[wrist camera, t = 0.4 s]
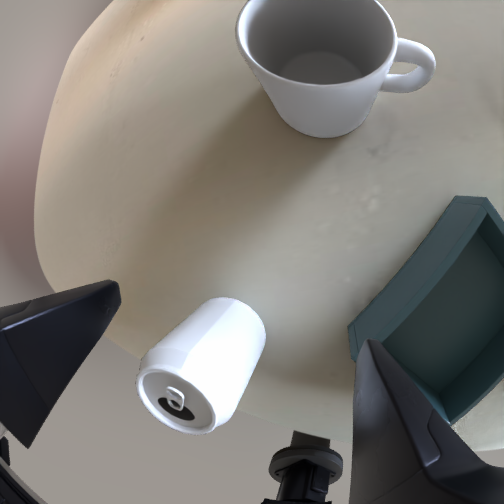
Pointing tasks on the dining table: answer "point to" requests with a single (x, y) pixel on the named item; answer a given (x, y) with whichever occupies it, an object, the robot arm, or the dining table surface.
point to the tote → (446, 310)
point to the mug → (327, 59)
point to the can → (202, 366)
